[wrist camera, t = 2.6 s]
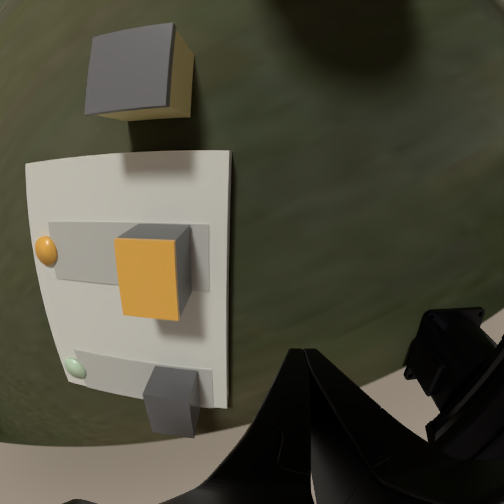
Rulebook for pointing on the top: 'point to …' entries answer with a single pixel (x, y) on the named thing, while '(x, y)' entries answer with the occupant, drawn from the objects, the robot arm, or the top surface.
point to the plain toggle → (172, 401)
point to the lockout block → (140, 74)
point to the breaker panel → (105, 270)
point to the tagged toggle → (154, 270)
